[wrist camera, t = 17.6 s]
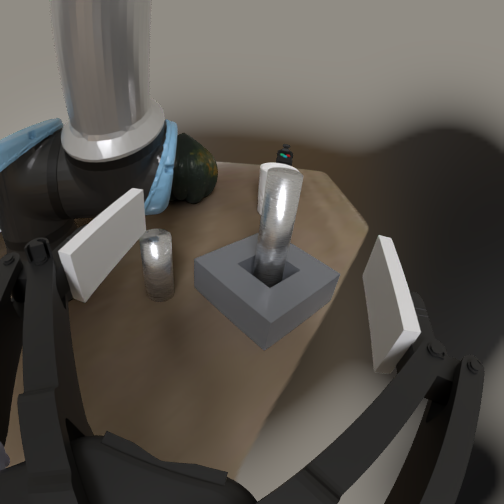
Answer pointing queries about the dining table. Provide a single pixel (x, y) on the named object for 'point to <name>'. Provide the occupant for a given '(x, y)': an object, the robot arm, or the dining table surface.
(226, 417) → the dining table surface
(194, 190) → the squash
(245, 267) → the charcoal collar block
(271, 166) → the white cup
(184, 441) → the dining table surface
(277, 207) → the long steel pin
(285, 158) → the controller
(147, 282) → the short steel pin
